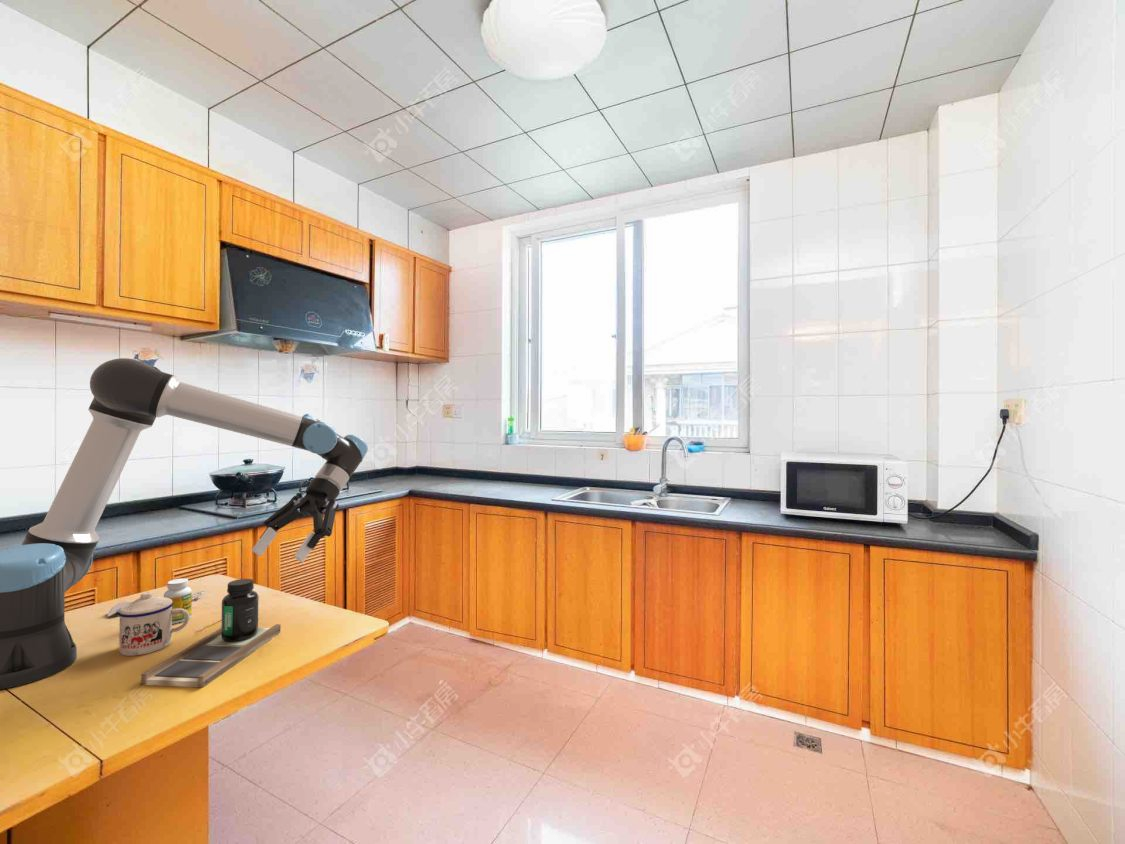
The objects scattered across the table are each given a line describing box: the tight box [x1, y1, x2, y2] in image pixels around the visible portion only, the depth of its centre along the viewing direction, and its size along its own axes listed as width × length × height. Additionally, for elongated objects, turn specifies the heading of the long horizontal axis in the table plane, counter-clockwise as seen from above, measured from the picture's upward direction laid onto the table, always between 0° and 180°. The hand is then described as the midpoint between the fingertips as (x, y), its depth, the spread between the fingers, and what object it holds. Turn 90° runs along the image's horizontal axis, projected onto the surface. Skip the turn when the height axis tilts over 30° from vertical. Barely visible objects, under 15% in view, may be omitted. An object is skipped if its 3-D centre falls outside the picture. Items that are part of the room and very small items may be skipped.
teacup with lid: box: [117, 591, 190, 657], centre depth 107 cm, size 12×9×12 cm
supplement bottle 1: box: [163, 578, 193, 625], centre depth 121 cm, size 5×5×10 cm
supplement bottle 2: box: [220, 578, 259, 642], centre depth 110 cm, size 7×7×12 cm
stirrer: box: [107, 590, 206, 617], centre depth 129 cm, size 20×4×5 cm
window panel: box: [140, 623, 281, 688], centre depth 103 cm, size 12×23×2 cm, turn 177°
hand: (276, 556), depth 117 cm, fingers open, 13 cm apart
